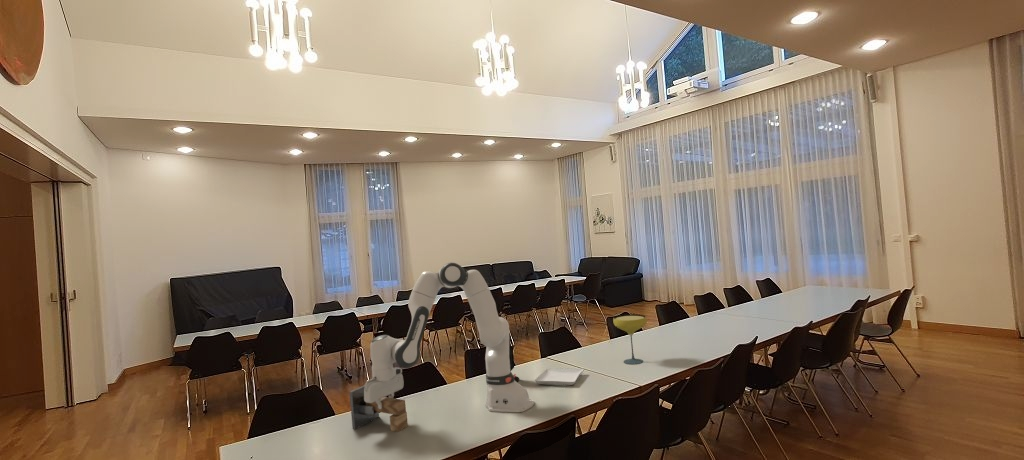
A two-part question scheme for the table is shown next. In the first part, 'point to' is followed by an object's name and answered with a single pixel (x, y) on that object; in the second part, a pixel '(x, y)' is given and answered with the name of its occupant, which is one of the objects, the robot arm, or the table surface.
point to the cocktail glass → (630, 329)
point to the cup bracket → (360, 408)
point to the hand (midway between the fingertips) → (385, 406)
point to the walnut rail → (390, 406)
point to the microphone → (512, 358)
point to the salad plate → (559, 376)
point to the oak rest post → (398, 422)
